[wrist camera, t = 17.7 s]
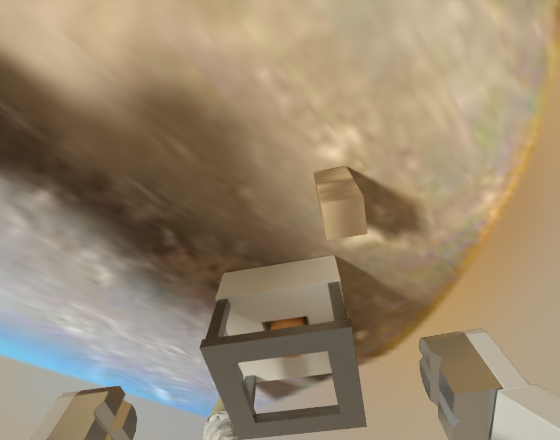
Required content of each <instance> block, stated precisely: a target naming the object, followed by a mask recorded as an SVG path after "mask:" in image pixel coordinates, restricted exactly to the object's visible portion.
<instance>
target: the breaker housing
mask: <svg viewBox="0 0 560 440" xmlns="http://www.w3.org/2000/svg"><path fill="white" fill-rule="evenodd" d="M337 281H339V285H340V289H341V293H342V287H341V281H340V276H339V272H338V268H337V264H336V260H335V255H332V256H325V257H319V258H313V259H307V260H301V261H295V262H289V263H282V264H276V265H270V266H264V267H258V268H252V269H246V270H239V271H233V272H227V273H223V276H222V279H221V283H220V286H219V289H218V292H217V295H216V298H215V299H216V302H217V300H220V299H227V298H228V300H229V303H230V306H231V307H230V312H229V316H228V320H227V324H226V329H227V332H228V335H229V336H231V335H238V334H246V333H253V332H260V331H267V330H271V321H275V320H282V319H289V318H296V317H303V316H306V323H307V325H310V324H317V323H324V322H331V321H334V316H333V310H332V305H331V299H330V294H329V288H328V283H331V282H337ZM342 298H343V293H342ZM343 302H344V300H343ZM239 365H240V368H241V371H242V373H243V376H244V379H245V376H250V375H254V376H255V379H256V382H264V381H272V380H280V379H288V378H297V377H305V376H313V375H321V374H329V373H332V371H331V366H330V361H329V356H328V351H325V352H317V353H310V354H302V355H300V356H298V357H295V358H283V357H279V358H271V359H264V360H256V361H248V362H241V363H239Z"/></svg>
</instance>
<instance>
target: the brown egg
mask: <svg viewBox="0 0 560 440" xmlns="http://www.w3.org/2000/svg"><path fill="white" fill-rule="evenodd" d="M303 325H307V323H306V316H303V317H296V318H289V319H282V320H275V321H271V330H274V329H281V328H288V327H295V326H303ZM298 356H300V355H294V356H287V357H283V358H295V357H298Z"/></svg>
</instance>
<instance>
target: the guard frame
mask: <svg viewBox="0 0 560 440" xmlns="http://www.w3.org/2000/svg"><path fill="white" fill-rule="evenodd" d="M328 288H329V294H330V299H331V305H332V310H333V316H334V321H331V322H324V323H317V324H310V325H303V326H295V327H288V328H281V329H274V330H267V331H260V332H253V333H246V334H238V335H231V336H224V332H225V328H226V324H227V320H228V316H229V312H230V307H231V306H230V303H229V300H228V298H227V299H220V300H217V303H216V307H215V310H214V313H213V316H212V320H211V323H210V326H209V329H208V332H207V336H206V339H203V340H202V342H201V345H200V350H201V352H202V355H203V357H204V359H205V362H206V364H207V366H208V369H209V371H210V373H211V376H212V378H213V380H214V383H215V385H216V388H217V390H218V392H219V395H220V397H221V399H222V402H223V404H224V406H225V409H226V411H227V414H228V416H229V418H230V421H231V423H232V425H233V428H234V430H235V432H236V435H237V437H238V440H242V439H252V438H261V437H270V436H281V435H290V434H300V433H310V432H319V431H329V430H339V429H349V428H358V427H366V426H367V425H366V418H365V412H364V405H363V399H362V392H361V385H360V378H359V372H358V365H357V358H356V352H355V345H354V338H353V331H352V326H351V321H350V319H347V315H346V311H345V306H344V302H343V298H342V293H341V289H340V285H339V281H337V282H331V283H328ZM223 336H224V337H223ZM325 351H328V356H329V361H330V366H331V371H332V376H333V381H334V386H335V391H336V396H337V401H338V405H333V406H325V407H315V408H306V409H298V410H289V411H280V412H270V413H261V414H256V412H255V410H254V399H255V390H256V379H255V376H254V375H250V376H245V380H243V377H242V374H241V371H240V369H239V366H238V363H241V362H248V361H256V360H264V359H271V358H279V357H287V356H294V355H302V354H310V353H317V352H325Z"/></svg>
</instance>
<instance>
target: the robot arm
mask: <svg viewBox="0 0 560 440" xmlns="http://www.w3.org/2000/svg"><path fill="white" fill-rule="evenodd" d="M419 349H420V351H421V353H422V355H423V358H422V359H421V360H420V372H421V377H422V381H423V384H424V386H425V389H426V392H427V394H428V396H429V398H430V400H431V401H432V402H434V403H435V404H436V405H438V412H439V413H438V416H439V417H438V418H439V420H440V422H441V424H442V426H443V428H444V430H445V432H446V435H447V437H448V439H449V440H560V397H559V396H557V395H555V394H553V393H551V392H550V391H548V390H546V389H544V388H542V387H541V386H539V385H529V383H528V382H527V381H526V380H525V379H524V377H523V376H522V375H521V374H520V372H519V371H518V370H517V369H516V367H515V366H514V365H513V364H512V362H511V361H510V360H509V359H508V358H507V356H506V355H505V354H504V353H503V351H502V350H501V349H500V348H499V347H498V345H497V344H496V343H495V341H494V340H493V339H492V338H491V337H490V335H489V334H488V333H487V332H486V331H485V330H483V329H482V328H480V329H474V330H468V331H461V332H453V333H447V334H441V335H436V336H430V337H424V338H421V339H420V341H419ZM124 396H125V393H124V391H123V390H122V388H121V387H120V386H114V387H106V388H98V389H90V390H82V391H76V392H69V393H64V394H62V395H61V396H60V397H58V398H57V400H56V401H55V403H54V404H53V406H52V407H51V409H50V410H49V412H48V413H47V415H46V416H45V418H44V419H43V421H42V422H41V424H40V425H39V427H38V428H37V430H36V431H35V433H34V434H33V436H32V437H31V439H30V440H133V437H134V434H135V432H136V423H137V416H136V412H135V409H134V407H133V406H132V404H130V403H128V402H126V401H124V400H123V399H124Z"/></svg>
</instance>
